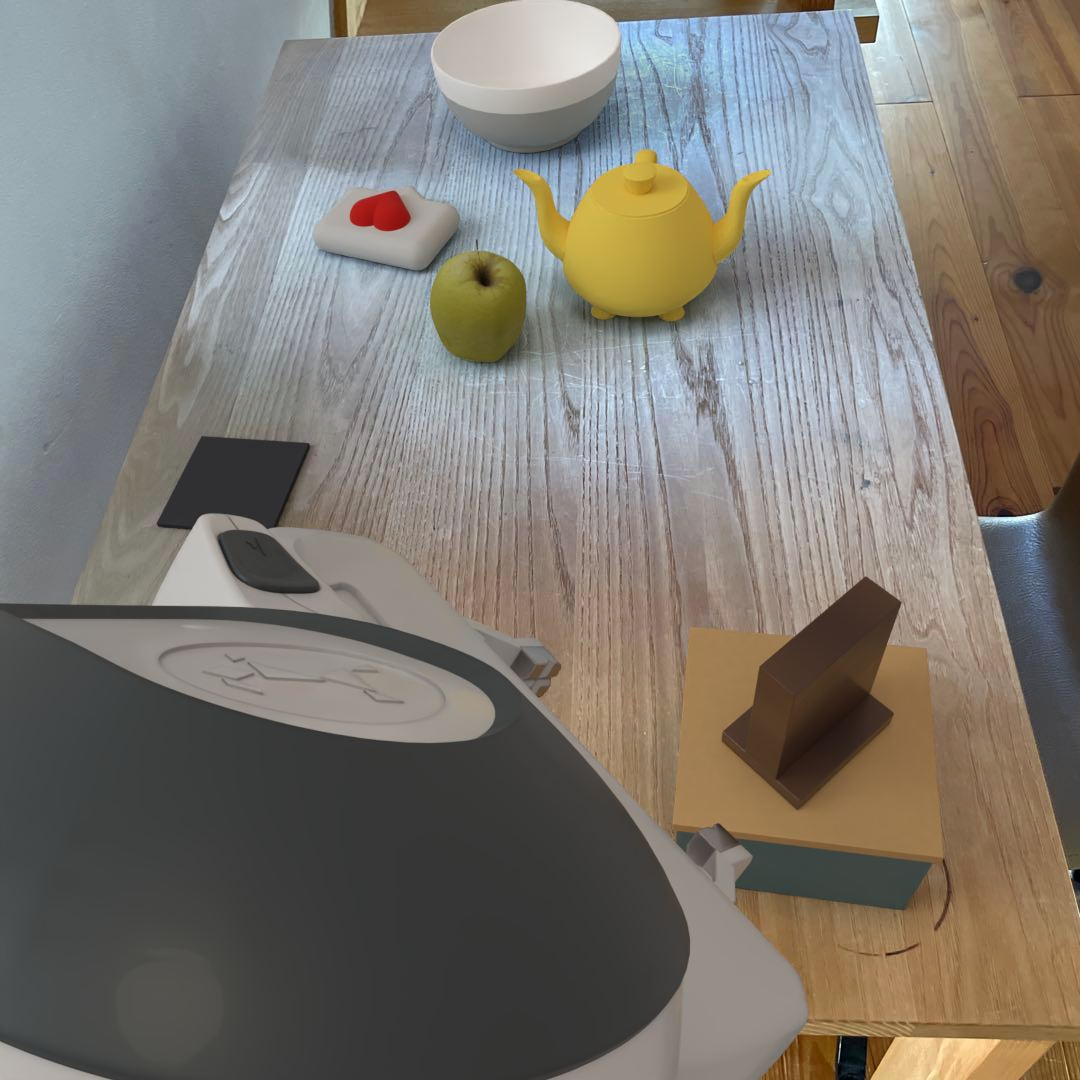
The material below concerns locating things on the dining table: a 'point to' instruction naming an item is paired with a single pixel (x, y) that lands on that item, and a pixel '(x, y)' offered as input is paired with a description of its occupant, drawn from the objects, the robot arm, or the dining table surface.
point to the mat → (235, 481)
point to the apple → (478, 305)
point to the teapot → (640, 237)
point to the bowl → (528, 71)
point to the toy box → (837, 808)
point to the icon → (387, 227)
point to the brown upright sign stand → (818, 696)
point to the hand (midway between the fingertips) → (627, 755)
